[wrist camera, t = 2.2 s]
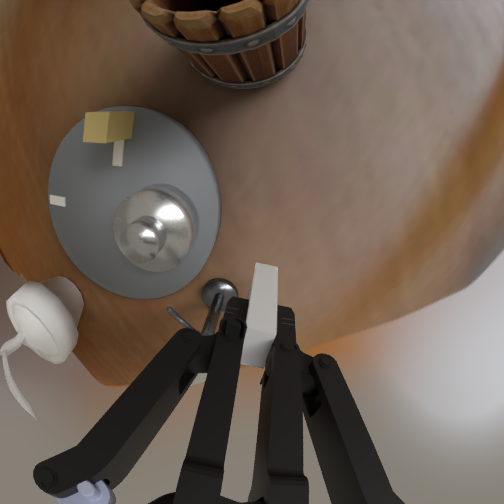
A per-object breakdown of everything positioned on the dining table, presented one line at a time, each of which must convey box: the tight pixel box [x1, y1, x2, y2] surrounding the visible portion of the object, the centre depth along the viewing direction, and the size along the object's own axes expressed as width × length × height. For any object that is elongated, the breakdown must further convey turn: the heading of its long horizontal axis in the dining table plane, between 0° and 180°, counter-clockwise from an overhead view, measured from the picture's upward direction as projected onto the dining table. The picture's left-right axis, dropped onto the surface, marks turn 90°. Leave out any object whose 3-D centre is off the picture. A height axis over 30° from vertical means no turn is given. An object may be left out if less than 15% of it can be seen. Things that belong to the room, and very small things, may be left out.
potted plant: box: [0, 276, 84, 420], centre depth 23 cm, size 13×12×25 cm
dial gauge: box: [167, 278, 238, 386], centre depth 25 cm, size 7×4×12 cm, turn 39°
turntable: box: [48, 106, 221, 299], centre depth 23 cm, size 20×20×6 cm
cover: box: [113, 183, 199, 272], centre depth 21 cm, size 7×7×5 cm
